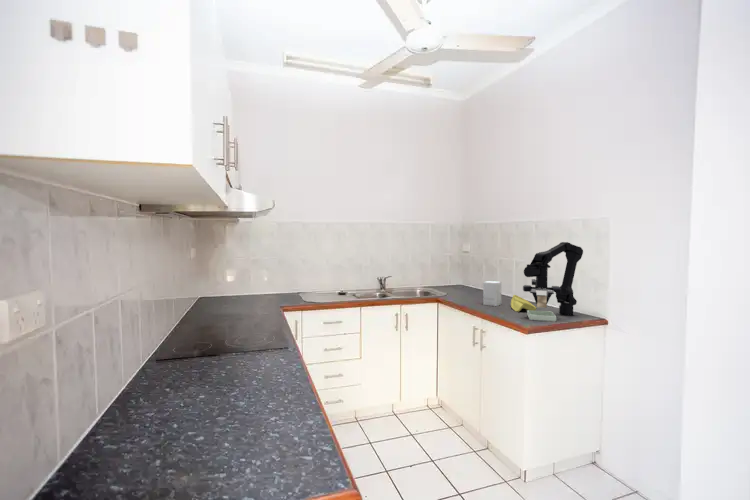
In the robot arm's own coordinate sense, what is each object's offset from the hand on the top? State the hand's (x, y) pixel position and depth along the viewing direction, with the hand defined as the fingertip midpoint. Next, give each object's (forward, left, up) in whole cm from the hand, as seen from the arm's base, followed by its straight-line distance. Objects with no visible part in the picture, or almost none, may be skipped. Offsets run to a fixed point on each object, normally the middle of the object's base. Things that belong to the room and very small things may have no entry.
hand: (541, 304), depth 202 cm
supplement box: (+25, -32, -8) cm, 42 cm away
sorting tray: (0, 0, -7) cm, 7 cm away
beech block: (0, 0, -1) cm, 1 cm away
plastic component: (+7, -22, -8) cm, 25 cm away
